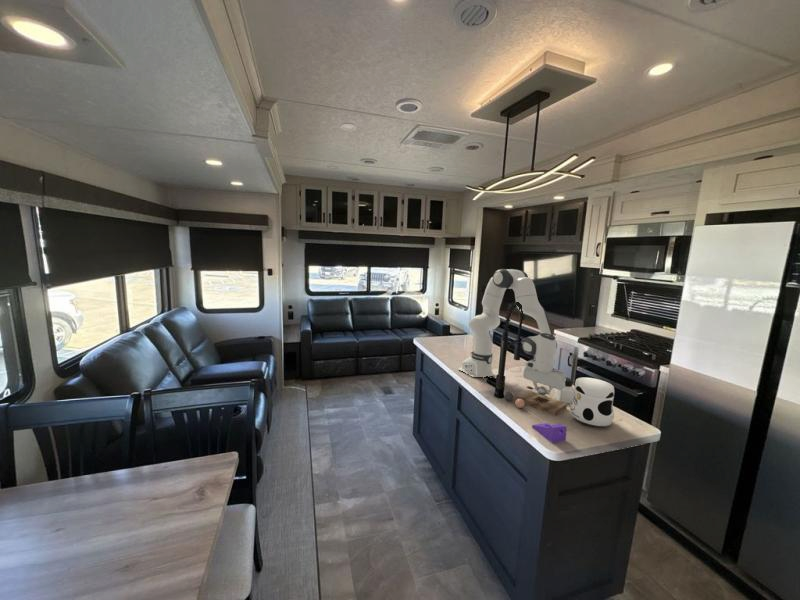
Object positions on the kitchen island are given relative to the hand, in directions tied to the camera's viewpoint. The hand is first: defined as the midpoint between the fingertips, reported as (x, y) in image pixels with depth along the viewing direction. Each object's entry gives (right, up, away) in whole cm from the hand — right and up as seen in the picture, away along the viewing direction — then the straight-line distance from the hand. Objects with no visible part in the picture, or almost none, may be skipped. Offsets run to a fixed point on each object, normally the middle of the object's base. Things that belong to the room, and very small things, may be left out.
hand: (542, 392), depth 162 cm
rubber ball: (-15, -3, +5) cm, 16 cm away
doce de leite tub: (+16, -9, -14) cm, 23 cm away
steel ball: (0, +1, 0) cm, 1 cm away
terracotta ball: (-13, -5, -3) cm, 14 cm away
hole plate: (0, -7, +1) cm, 7 cm away
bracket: (-9, -11, -26) cm, 30 cm away
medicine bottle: (+15, -7, +7) cm, 17 cm away
